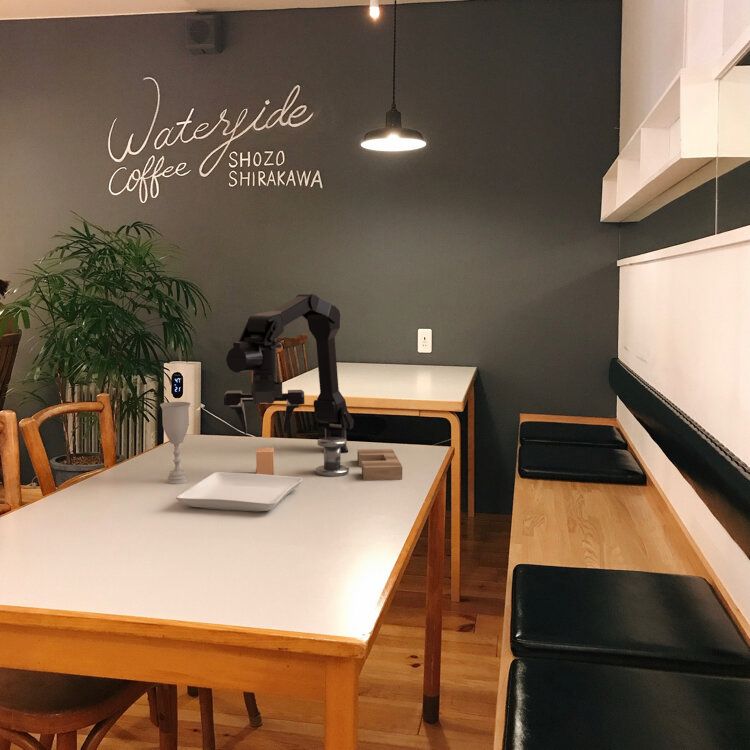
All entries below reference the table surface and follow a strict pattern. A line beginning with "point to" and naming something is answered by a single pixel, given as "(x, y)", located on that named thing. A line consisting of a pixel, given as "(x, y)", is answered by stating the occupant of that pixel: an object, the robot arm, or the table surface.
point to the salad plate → (239, 491)
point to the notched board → (379, 464)
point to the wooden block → (265, 461)
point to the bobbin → (332, 457)
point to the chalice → (176, 434)
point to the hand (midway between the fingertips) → (265, 433)
